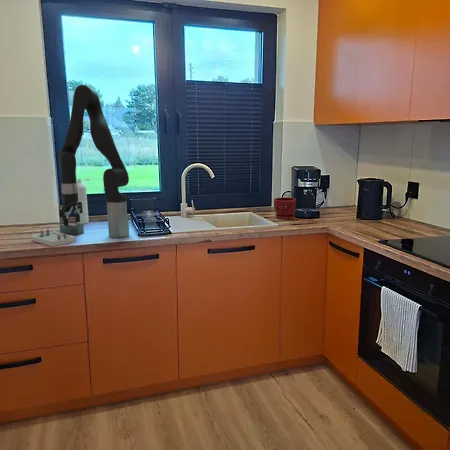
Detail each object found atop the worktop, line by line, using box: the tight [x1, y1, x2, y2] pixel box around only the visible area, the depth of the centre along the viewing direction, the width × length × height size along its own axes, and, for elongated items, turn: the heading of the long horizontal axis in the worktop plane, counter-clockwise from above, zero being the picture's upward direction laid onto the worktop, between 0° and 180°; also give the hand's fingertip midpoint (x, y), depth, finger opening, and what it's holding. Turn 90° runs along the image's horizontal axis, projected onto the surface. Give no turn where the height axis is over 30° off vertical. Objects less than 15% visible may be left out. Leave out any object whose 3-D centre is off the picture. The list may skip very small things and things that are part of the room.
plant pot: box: [273, 196, 297, 221], centre depth 247 cm, size 13×13×12 cm
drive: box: [59, 222, 85, 236], centre depth 209 cm, size 10×5×5 cm, turn 77°
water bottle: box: [76, 177, 91, 225], centre depth 232 cm, size 9×6×25 cm
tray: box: [30, 228, 77, 247], centre depth 195 cm, size 18×12×4 cm, turn 52°
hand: (72, 223), depth 209 cm, fingers open, 8 cm apart
